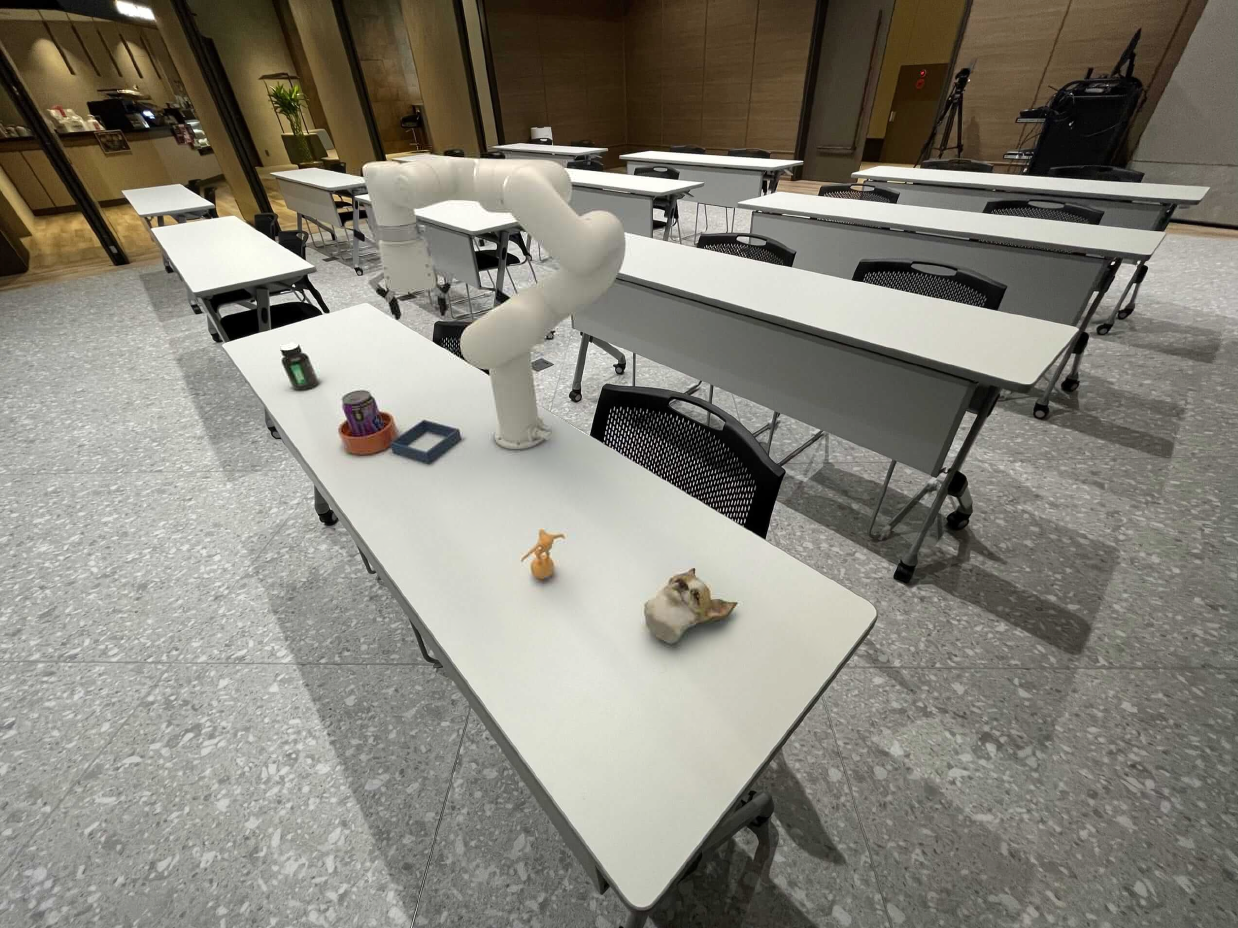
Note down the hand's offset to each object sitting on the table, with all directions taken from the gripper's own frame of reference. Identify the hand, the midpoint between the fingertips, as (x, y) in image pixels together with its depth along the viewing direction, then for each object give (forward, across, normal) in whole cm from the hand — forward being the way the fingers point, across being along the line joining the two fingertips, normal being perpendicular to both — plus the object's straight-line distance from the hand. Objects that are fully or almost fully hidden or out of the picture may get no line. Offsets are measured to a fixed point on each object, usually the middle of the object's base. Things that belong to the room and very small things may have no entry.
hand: (421, 315), depth 112 cm
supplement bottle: (+28, +44, -32) cm, 61 cm away
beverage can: (+28, +18, +4) cm, 33 cm away
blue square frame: (+28, +4, +9) cm, 30 cm away
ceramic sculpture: (+28, -42, +69) cm, 85 cm away
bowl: (+28, +18, +4) cm, 34 cm away
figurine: (+28, -21, +56) cm, 66 cm away
